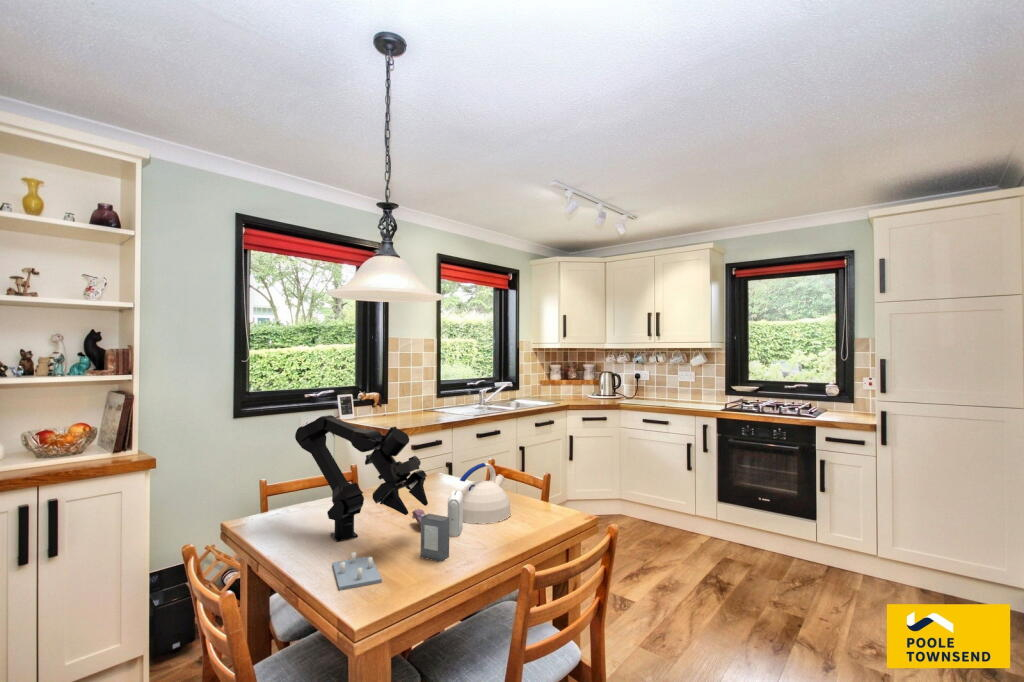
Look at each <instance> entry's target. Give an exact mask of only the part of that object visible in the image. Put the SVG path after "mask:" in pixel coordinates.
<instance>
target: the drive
mask: <svg viewBox="0 0 1024 682" xmlns="http://www.w3.org/2000/svg"><path fill="white" fill-rule="evenodd" d="M421 557H423V558H422V559H426V558H428V559H427V560H430V559H432V560H431V561H435V560H436V562H439V561H441V562H440V563H443V562H444V561H446V560H448V558H450V536H449V517H448V516H445V515H440V514H439V515H438V514H434V513H427V514H425V516H423V517H421V527H420V558H421ZM445 559H446V560H445ZM442 561H443V562H442Z"/></svg>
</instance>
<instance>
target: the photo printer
mask: <svg viewBox="0 0 1024 682" xmlns="http://www.w3.org/2000/svg"><path fill="white" fill-rule="evenodd" d="M461 491H462V490H456V489H454V490H452V492H451V493H450V494H449V497H448V500H447V517H449V537H458V536H460V534H461V532H462V529H463V524H464V522H463V494H462V493H461Z"/></svg>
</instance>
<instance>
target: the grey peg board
mask: <svg viewBox="0 0 1024 682" xmlns="http://www.w3.org/2000/svg"><path fill="white" fill-rule="evenodd" d="M350 558H351V559H346V560H339V561H334V562H332V568H333V572H334V577H335V580H336V584H337V587H338V591H342V590H343V591H344V590H347V589H349V590H350V589H354V588H359V587H364V586H369V585H374V584H380V583H382V582H383V579H382V576H381V574H380V571H379V570H378V567H377V566H376V563H375V560H374V558H373V556H372V555H369V556H364V557H357V552H356V551H352V552H351V553H350Z"/></svg>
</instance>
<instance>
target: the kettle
mask: <svg viewBox="0 0 1024 682" xmlns="http://www.w3.org/2000/svg"><path fill="white" fill-rule="evenodd" d="M484 467H485V468H488V470H489V480H483V479H481V480H480V479H479V480H475V481H473V482H470V483H468V484H467V485H466V486H464V487H463V488H462V490H460V491H461V493H462V494H463V523H465V522H466V524H471V523H479V524H478V525H483V524H482V523H491V522H497V521H500V520H503V519H505V518H507V517H508V516H509V515H510V513H511V514H512V512H511V502H510V499H509V497H508V493H506V491H505V490H504V489H503V488H502V484H504V482H505V481H506V478H505V477H504V475H502V474H496V469H495V468H494V466H493V465H492V464H490V463H485V462H481V463H479V464H476V465H474V466H472V467H471V468H469V469H468V470H467V471H466V472H464V473H463V475H462V476H461V477H460V479H459V481H460V482H464V483H465V482H466V481H467V479H468V478H469V477H471V475H472V474H473V473H474V472H476V471H478V470H479V469H482V468H484ZM510 516H511V515H510Z"/></svg>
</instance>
